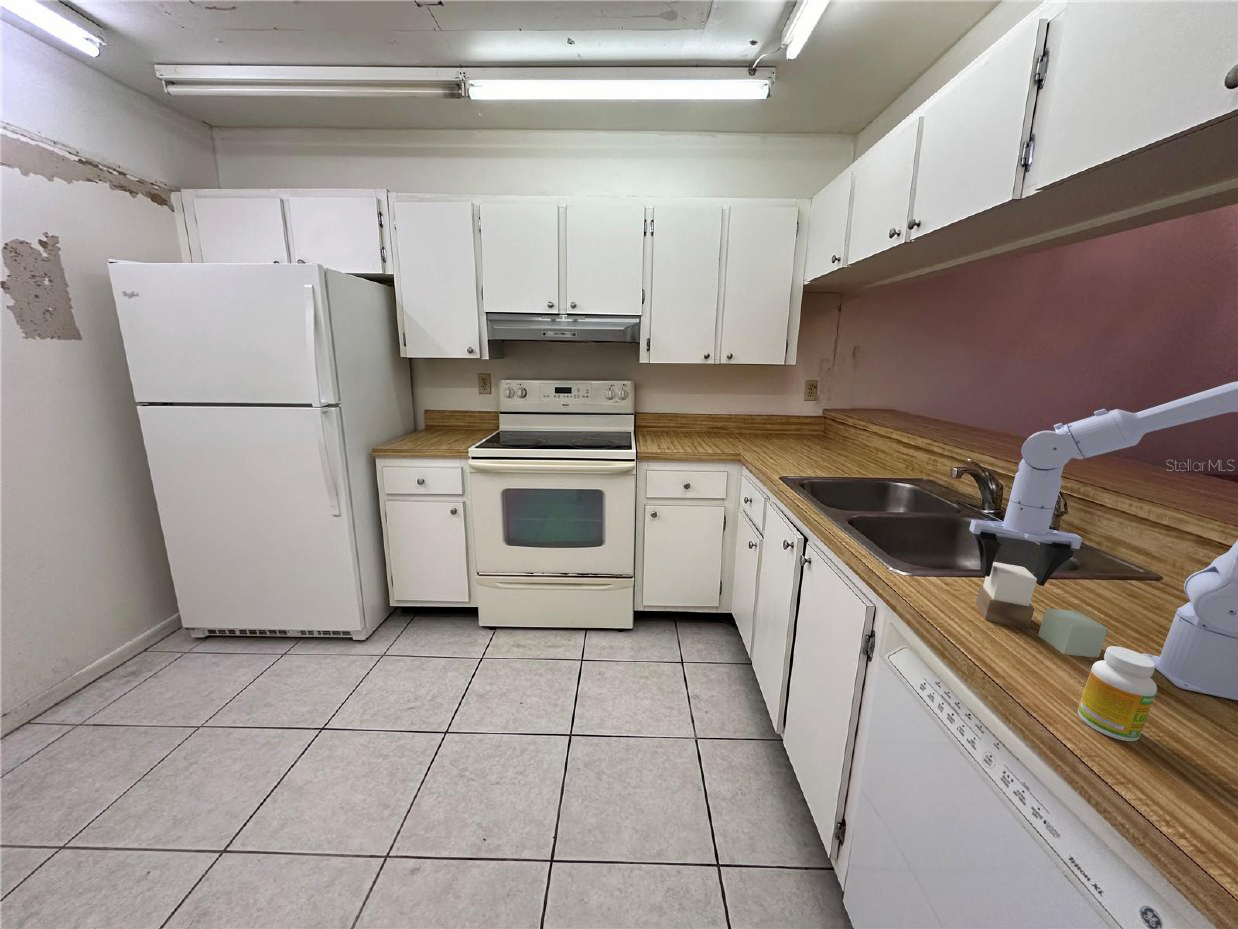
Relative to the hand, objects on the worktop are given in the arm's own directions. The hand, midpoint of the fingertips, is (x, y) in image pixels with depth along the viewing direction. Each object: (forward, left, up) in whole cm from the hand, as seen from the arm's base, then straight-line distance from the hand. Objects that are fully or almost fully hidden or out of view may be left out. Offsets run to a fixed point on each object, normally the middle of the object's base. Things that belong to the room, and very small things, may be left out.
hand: (1011, 578), depth 80 cm
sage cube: (-6, +6, -7) cm, 12 cm away
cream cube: (0, 0, -3) cm, 3 cm away
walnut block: (0, 0, -7) cm, 7 cm away
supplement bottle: (-2, +26, -7) cm, 27 cm away
